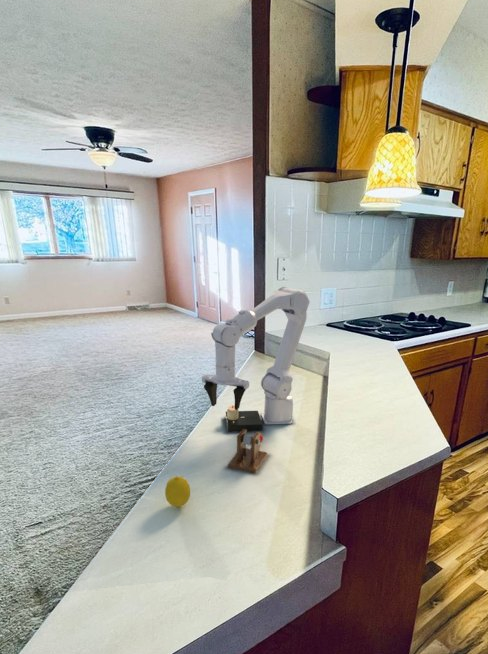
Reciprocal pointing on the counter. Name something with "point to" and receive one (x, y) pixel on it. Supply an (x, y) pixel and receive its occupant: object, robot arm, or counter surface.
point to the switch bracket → (248, 454)
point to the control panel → (245, 422)
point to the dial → (232, 413)
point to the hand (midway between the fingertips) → (225, 406)
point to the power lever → (248, 439)
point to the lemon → (177, 491)
